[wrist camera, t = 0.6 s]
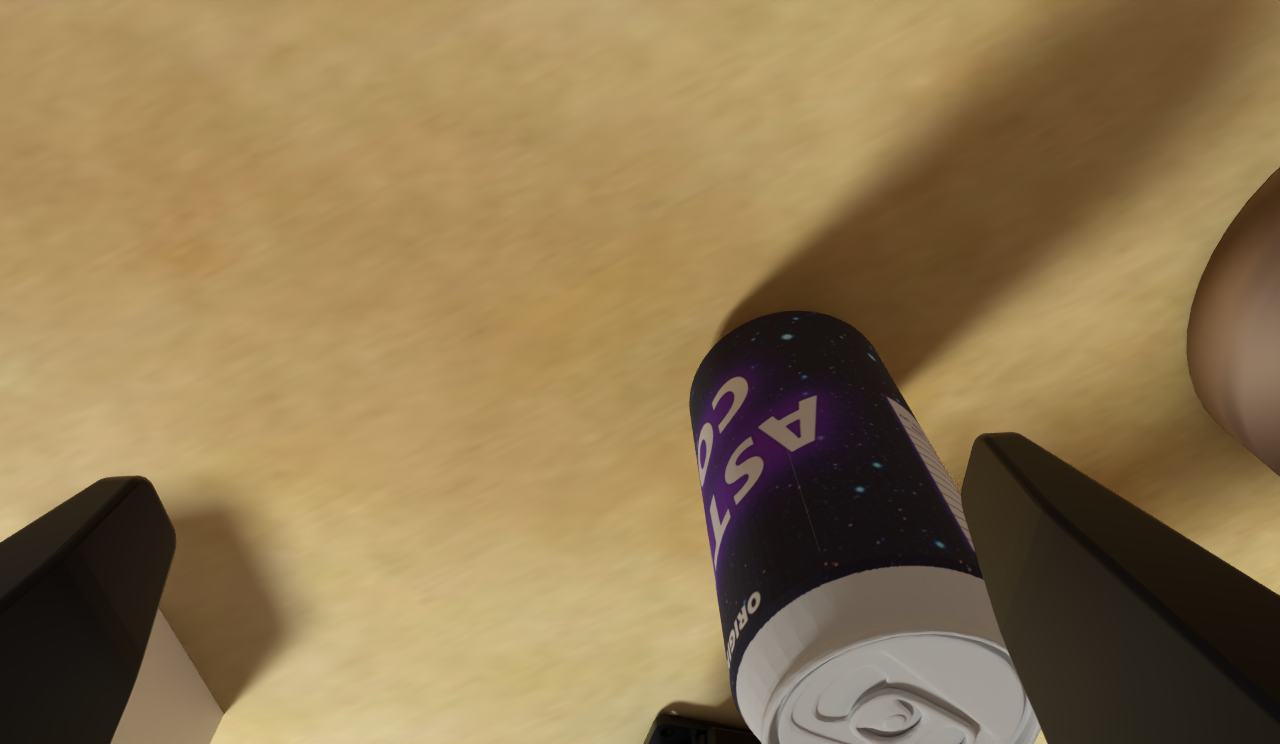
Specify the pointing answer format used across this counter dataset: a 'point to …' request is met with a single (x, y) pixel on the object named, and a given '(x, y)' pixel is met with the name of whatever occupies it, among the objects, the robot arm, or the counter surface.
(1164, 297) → the counter surface
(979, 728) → the beverage can
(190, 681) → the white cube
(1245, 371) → the walnut base
